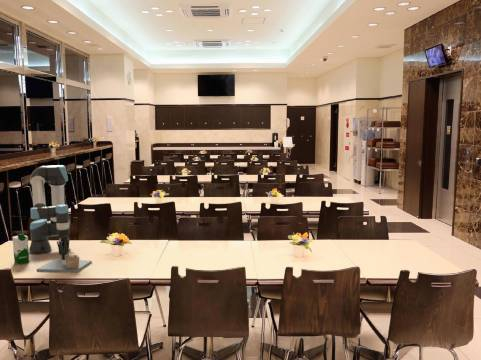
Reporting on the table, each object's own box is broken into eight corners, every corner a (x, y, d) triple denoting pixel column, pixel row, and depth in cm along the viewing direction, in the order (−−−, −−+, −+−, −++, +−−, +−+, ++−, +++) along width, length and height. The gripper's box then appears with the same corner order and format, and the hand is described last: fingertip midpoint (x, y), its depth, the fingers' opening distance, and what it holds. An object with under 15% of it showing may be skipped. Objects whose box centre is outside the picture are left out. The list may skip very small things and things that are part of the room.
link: (78, 268, 292) (79, 257, 292) (68, 268, 288) (69, 257, 288) (72, 261, 307) (72, 250, 307) (62, 261, 304) (62, 251, 303)
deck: (54, 261, 312) (53, 245, 310) (91, 262, 308) (91, 247, 307) (36, 271, 291) (35, 254, 289) (76, 272, 287) (75, 256, 286)
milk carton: (17, 265, 303) (15, 235, 301) (12, 262, 310) (10, 233, 307) (30, 262, 310) (29, 233, 307) (26, 259, 316) (24, 231, 313)
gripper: (62, 226, 299) (64, 261, 302) (52, 230, 286) (53, 267, 289) (73, 226, 298) (75, 261, 301) (63, 231, 285) (65, 267, 288)
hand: (64, 264), depth 295 cm, fingers closed
